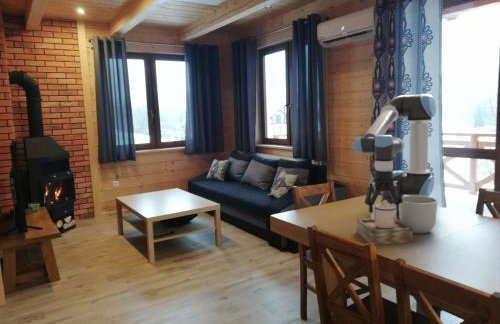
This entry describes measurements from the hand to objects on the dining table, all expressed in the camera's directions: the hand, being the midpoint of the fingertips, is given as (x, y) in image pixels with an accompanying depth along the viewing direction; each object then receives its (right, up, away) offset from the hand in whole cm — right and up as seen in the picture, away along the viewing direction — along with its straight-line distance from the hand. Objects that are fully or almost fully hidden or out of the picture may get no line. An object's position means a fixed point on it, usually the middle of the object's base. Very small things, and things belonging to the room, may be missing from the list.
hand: (383, 218), depth 170 cm
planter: (+19, -7, +8) cm, 22 cm away
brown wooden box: (0, -8, +1) cm, 8 cm away
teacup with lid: (0, -3, 0) cm, 3 cm away
